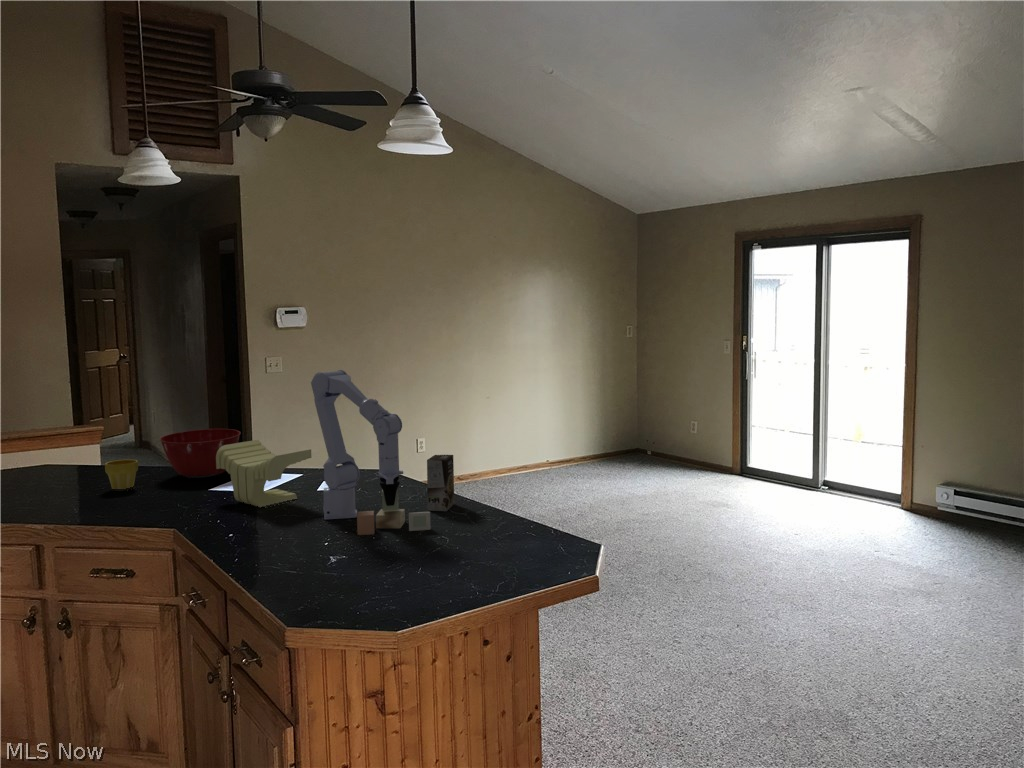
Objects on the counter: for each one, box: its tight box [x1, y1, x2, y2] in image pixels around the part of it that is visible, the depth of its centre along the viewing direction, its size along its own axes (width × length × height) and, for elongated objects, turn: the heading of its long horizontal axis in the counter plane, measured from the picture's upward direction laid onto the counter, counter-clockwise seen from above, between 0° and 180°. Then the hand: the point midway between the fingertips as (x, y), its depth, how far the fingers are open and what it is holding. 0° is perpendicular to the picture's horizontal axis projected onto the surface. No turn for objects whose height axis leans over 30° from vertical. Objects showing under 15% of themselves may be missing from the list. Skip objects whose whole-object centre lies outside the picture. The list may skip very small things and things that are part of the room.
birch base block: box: [375, 508, 406, 529], centre depth 230 cm, size 7×7×4 cm
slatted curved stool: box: [216, 439, 312, 508], centre depth 258 cm, size 30×16×18 cm, turn 50°
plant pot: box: [104, 459, 139, 490], centre depth 278 cm, size 10×10×10 cm
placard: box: [408, 511, 432, 532], centre depth 224 cm, size 6×1×5 cm, turn 100°
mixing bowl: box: [159, 428, 241, 477], centre depth 299 cm, size 28×28×16 cm
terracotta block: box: [356, 510, 375, 536], centre depth 223 cm, size 5×5×6 cm
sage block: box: [381, 487, 400, 511], centre depth 229 cm, size 5×5×6 cm
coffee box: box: [426, 454, 455, 512], centre depth 248 cm, size 9×6×16 cm
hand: (390, 503), depth 230 cm, fingers open, 5 cm apart
